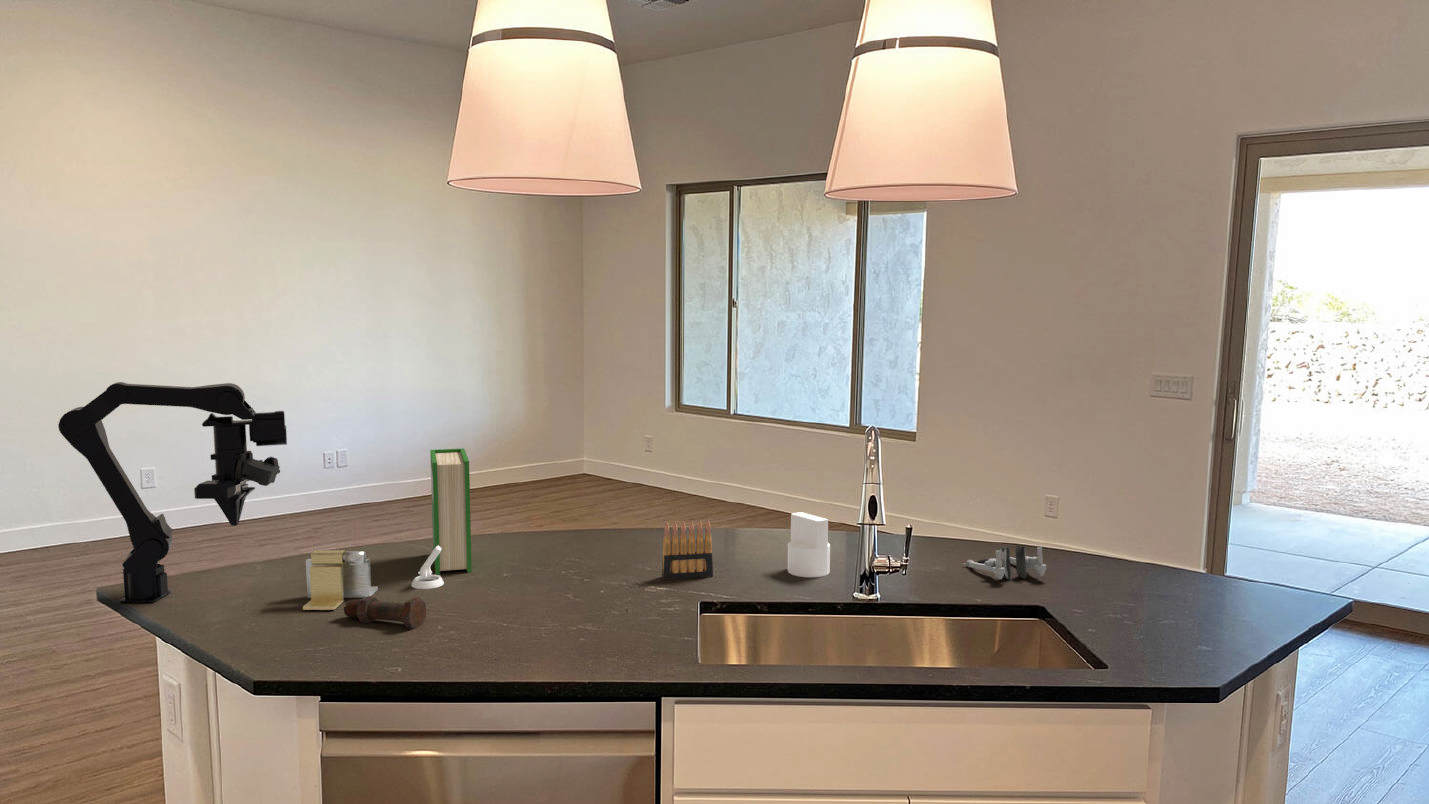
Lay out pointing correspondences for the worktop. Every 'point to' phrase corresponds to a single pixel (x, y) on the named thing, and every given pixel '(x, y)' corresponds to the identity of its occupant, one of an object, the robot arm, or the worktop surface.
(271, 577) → the worktop surface
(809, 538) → the cylinder with rectangular tab
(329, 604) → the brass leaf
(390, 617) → the bolt
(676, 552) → the ammunition clip
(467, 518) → the hardback book
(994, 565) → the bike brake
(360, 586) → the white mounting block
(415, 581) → the hook
